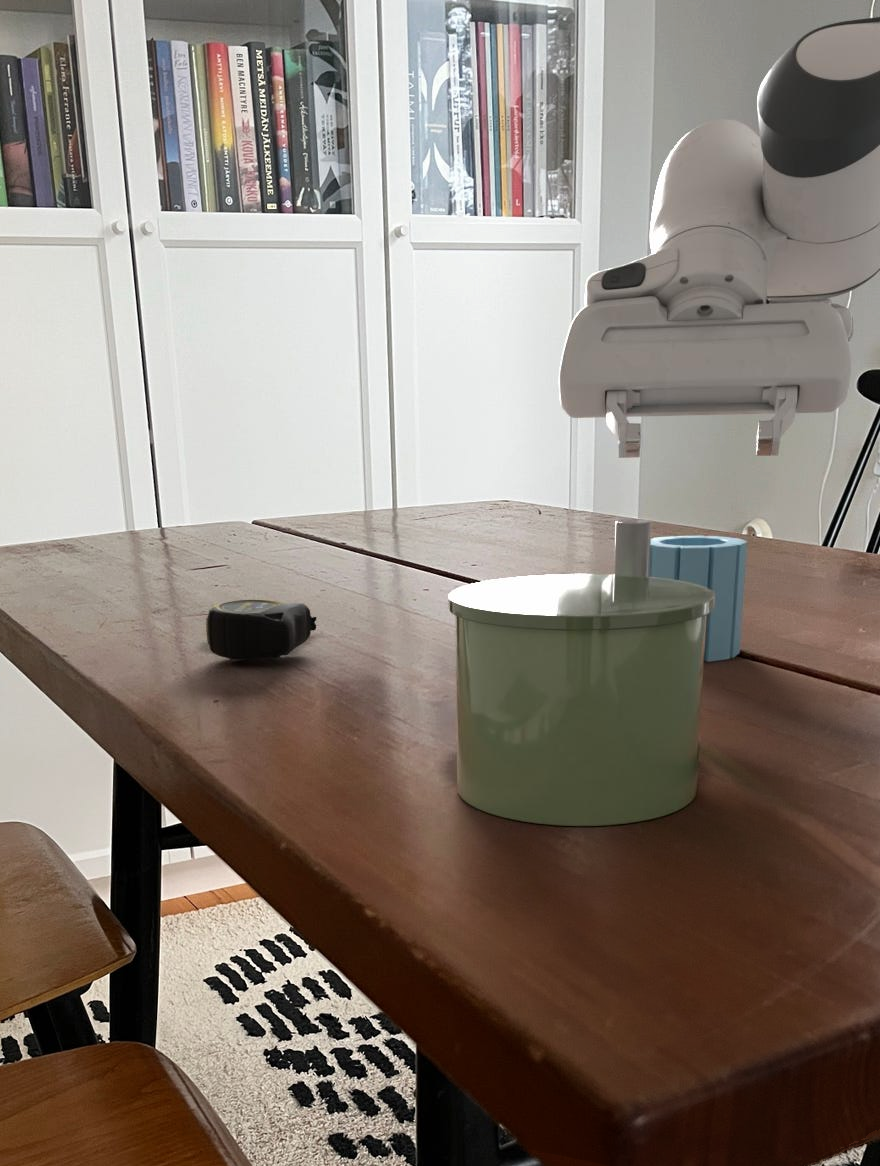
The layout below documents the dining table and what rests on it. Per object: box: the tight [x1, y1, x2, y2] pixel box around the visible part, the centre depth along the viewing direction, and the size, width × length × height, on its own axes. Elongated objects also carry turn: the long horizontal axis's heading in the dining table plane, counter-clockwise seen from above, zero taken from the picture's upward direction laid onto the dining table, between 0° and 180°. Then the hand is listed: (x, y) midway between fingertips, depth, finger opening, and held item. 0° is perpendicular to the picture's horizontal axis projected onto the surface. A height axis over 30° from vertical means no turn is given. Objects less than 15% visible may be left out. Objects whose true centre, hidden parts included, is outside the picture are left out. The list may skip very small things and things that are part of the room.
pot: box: [447, 519, 715, 827], centre depth 60 cm, size 20×12×11 cm, turn 158°
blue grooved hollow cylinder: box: [649, 535, 748, 663], centre depth 81 cm, size 6×7×8 cm
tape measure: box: [205, 599, 317, 663], centre depth 88 cm, size 7×7×4 cm
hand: (697, 450), depth 88 cm, fingers open, 8 cm apart
